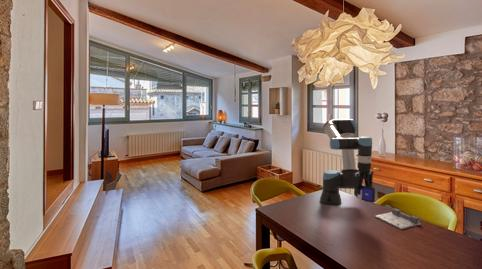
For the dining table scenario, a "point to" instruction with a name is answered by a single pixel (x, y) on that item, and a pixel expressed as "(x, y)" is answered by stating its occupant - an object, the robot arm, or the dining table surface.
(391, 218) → the white plate with bar
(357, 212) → the dining table surface
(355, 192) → the small display screen
